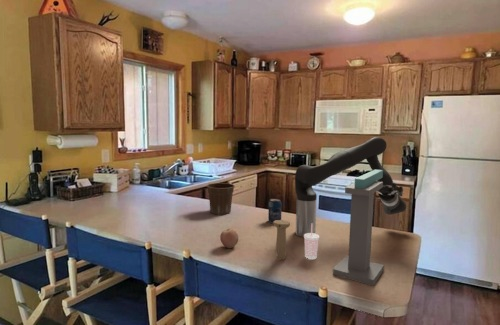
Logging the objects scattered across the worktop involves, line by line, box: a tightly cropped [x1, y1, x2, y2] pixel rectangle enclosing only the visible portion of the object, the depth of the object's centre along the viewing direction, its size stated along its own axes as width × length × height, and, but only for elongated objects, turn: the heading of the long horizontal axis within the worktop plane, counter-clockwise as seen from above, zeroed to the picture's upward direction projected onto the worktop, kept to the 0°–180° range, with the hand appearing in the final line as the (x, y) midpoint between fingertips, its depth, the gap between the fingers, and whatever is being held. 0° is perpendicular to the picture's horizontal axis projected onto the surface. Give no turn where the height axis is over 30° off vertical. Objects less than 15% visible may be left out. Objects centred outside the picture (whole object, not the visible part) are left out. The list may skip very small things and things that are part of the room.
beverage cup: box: [303, 223, 320, 260], centre depth 132 cm, size 6×6×14 cm
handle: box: [272, 219, 291, 261], centre depth 130 cm, size 5×6×15 cm
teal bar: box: [354, 169, 383, 188], centre depth 122 cm, size 26×3×3 cm, turn 145°
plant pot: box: [206, 182, 235, 216], centre depth 195 cm, size 16×16×16 cm
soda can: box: [267, 198, 283, 224], centre depth 178 cm, size 7×7×12 cm
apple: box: [219, 227, 239, 249], centre depth 142 cm, size 8×8×8 cm
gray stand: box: [332, 181, 385, 286], centre depth 119 cm, size 18×14×32 cm
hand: (382, 183), depth 140 cm, fingers open, 8 cm apart
